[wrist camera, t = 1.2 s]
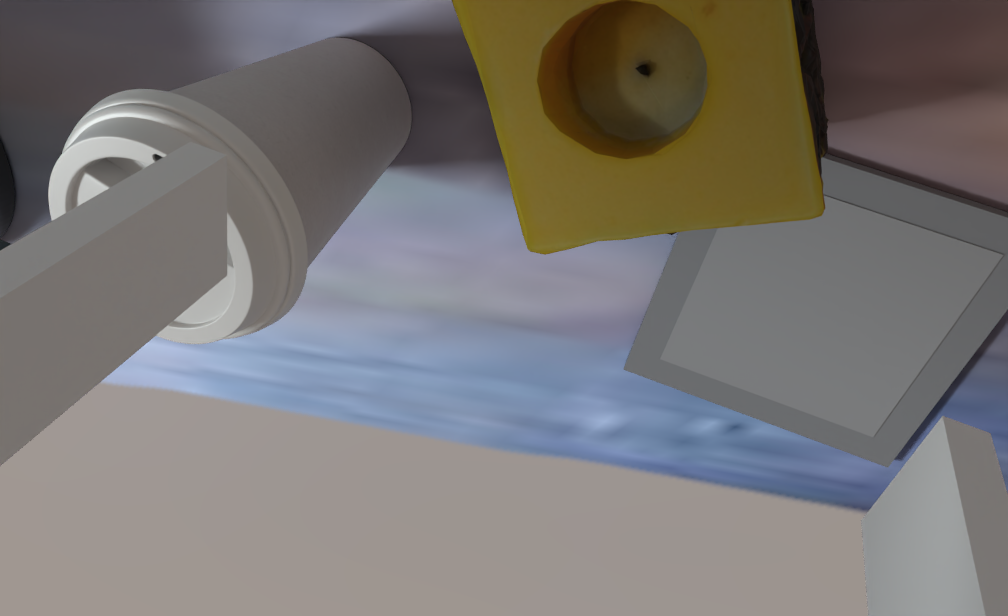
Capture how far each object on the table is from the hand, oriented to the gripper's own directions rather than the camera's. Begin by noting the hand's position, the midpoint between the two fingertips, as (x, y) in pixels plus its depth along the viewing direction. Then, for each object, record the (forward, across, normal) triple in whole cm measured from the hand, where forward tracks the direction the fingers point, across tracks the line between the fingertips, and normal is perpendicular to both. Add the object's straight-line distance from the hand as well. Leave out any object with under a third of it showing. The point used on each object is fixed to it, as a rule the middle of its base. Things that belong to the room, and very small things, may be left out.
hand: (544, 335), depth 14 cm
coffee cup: (+22, -14, -8) cm, 28 cm away
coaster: (+22, +10, -10) cm, 26 cm away
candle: (+22, 0, 0) cm, 22 cm away
